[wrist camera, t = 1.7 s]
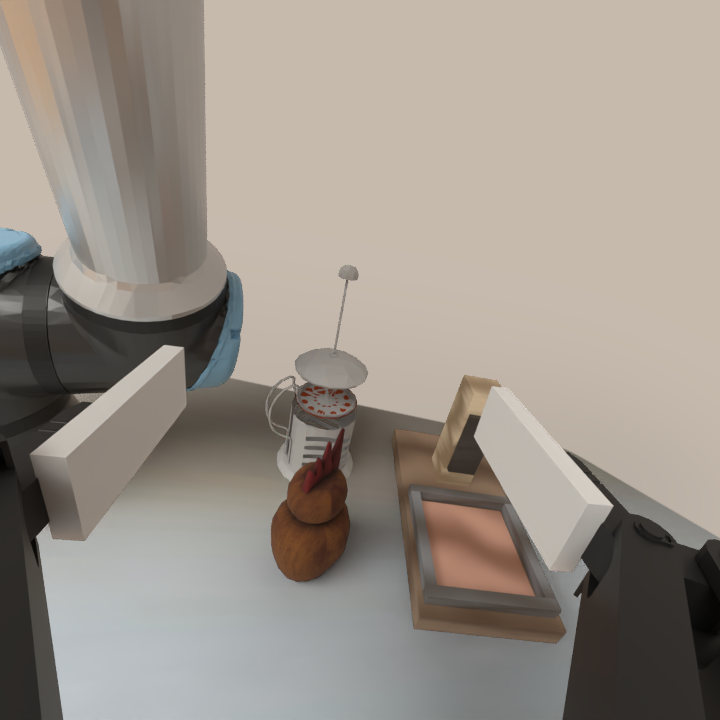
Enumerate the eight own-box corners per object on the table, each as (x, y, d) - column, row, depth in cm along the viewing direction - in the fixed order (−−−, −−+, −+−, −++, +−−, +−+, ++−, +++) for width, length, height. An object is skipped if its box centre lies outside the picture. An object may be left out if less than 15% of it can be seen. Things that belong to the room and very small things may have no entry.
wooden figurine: (322, 521, 37) (347, 408, 30) (349, 571, 33) (385, 453, 26) (259, 547, 33) (270, 425, 26) (281, 606, 29) (301, 481, 22)
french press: (365, 481, 43) (420, 285, 31) (269, 501, 38) (293, 277, 26) (338, 429, 51) (374, 256, 39) (255, 439, 46) (268, 245, 34)
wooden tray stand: (556, 643, 31) (654, 536, 24) (413, 628, 30) (473, 512, 23) (476, 452, 52) (516, 365, 45) (391, 439, 51) (419, 348, 44)
